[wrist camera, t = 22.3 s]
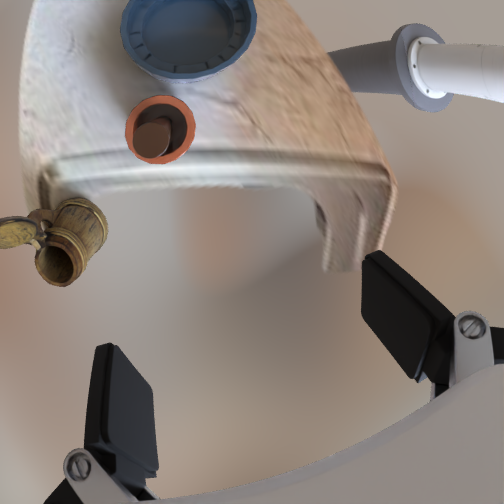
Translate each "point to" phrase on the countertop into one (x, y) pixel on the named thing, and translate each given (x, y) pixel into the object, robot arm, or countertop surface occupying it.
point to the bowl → (187, 36)
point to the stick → (152, 137)
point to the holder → (180, 129)
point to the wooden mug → (59, 238)
